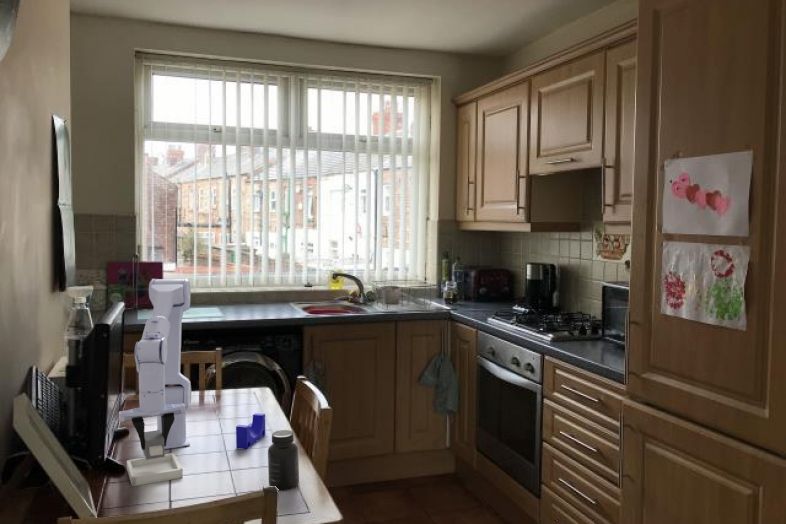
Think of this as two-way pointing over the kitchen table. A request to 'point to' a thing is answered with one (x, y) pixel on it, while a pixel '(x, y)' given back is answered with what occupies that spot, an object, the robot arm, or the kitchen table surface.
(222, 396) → the kitchen table surface
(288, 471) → the supplement bottle
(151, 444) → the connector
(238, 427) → the blue u-shaped cradle block
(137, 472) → the tray
